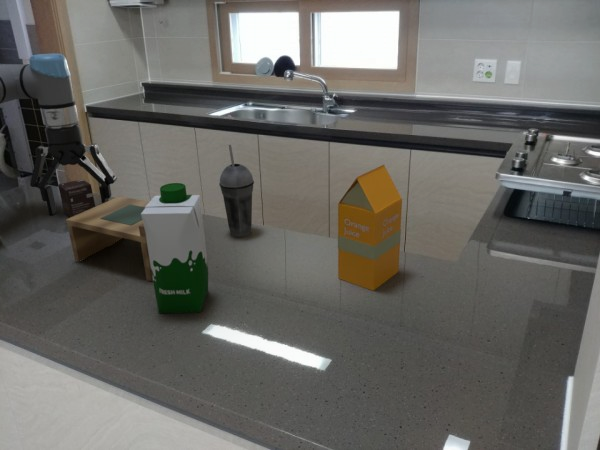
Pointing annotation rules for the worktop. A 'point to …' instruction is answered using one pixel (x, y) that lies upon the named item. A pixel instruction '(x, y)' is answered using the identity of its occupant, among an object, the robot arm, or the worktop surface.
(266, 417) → the worktop surface
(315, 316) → the worktop surface
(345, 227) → the orange juice
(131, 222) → the shelf
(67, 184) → the box
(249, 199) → the beverage cup
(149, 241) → the milk carton
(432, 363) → the worktop surface
